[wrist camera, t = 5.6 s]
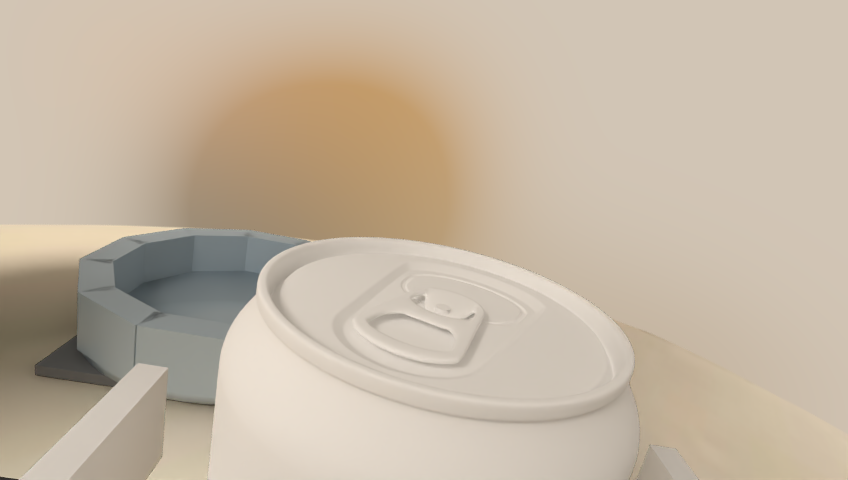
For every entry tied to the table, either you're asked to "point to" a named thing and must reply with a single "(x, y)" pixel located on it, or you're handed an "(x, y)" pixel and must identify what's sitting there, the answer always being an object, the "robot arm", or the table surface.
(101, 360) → the bowl
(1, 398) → the table surface
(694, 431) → the table surface
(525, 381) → the beverage can
